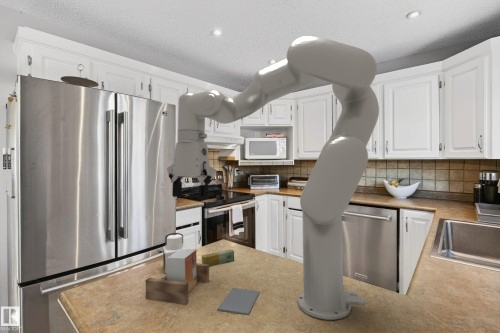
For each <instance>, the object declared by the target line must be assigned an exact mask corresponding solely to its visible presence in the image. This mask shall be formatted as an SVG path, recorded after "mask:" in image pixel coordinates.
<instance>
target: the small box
mask: <svg viewBox="0 0 500 333" xmlns="http://www.w3.org/2000/svg"><path fill="white" fill-rule="evenodd" d="M197 260H198V259H197V249H195V248H194V249H191V248H185V249H179V250H178V251H176V252H175V253H174V254H172V255H171V256H169V257H167V273H166V275H167V280H173V281H181V282H188V294H189V293H190V292H191V291H192V290H193V289H194V287H196V286H197V285H198V284H197V283H198V282H197V263H198V262H197Z"/></svg>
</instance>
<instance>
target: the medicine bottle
mask: <svg viewBox="0 0 500 333" xmlns="http://www.w3.org/2000/svg"><path fill="white" fill-rule="evenodd" d="M164 238H165V241H164V242H165V243H164V244H165V245H164V246H163V247H162V250H163V251H162V256H163V259H162V260H163V262H162V265H163V270H164V271H163V272H164V274H165V275H167V257H169V256H171V255H172V254H174V253H175V252H176V251H178V250H179V249H186V247H185V244H184V235H183V234H182V233H180V232H173V233H172V232H171V233H169V234H167V235H166V236H165V237H164Z"/></svg>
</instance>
